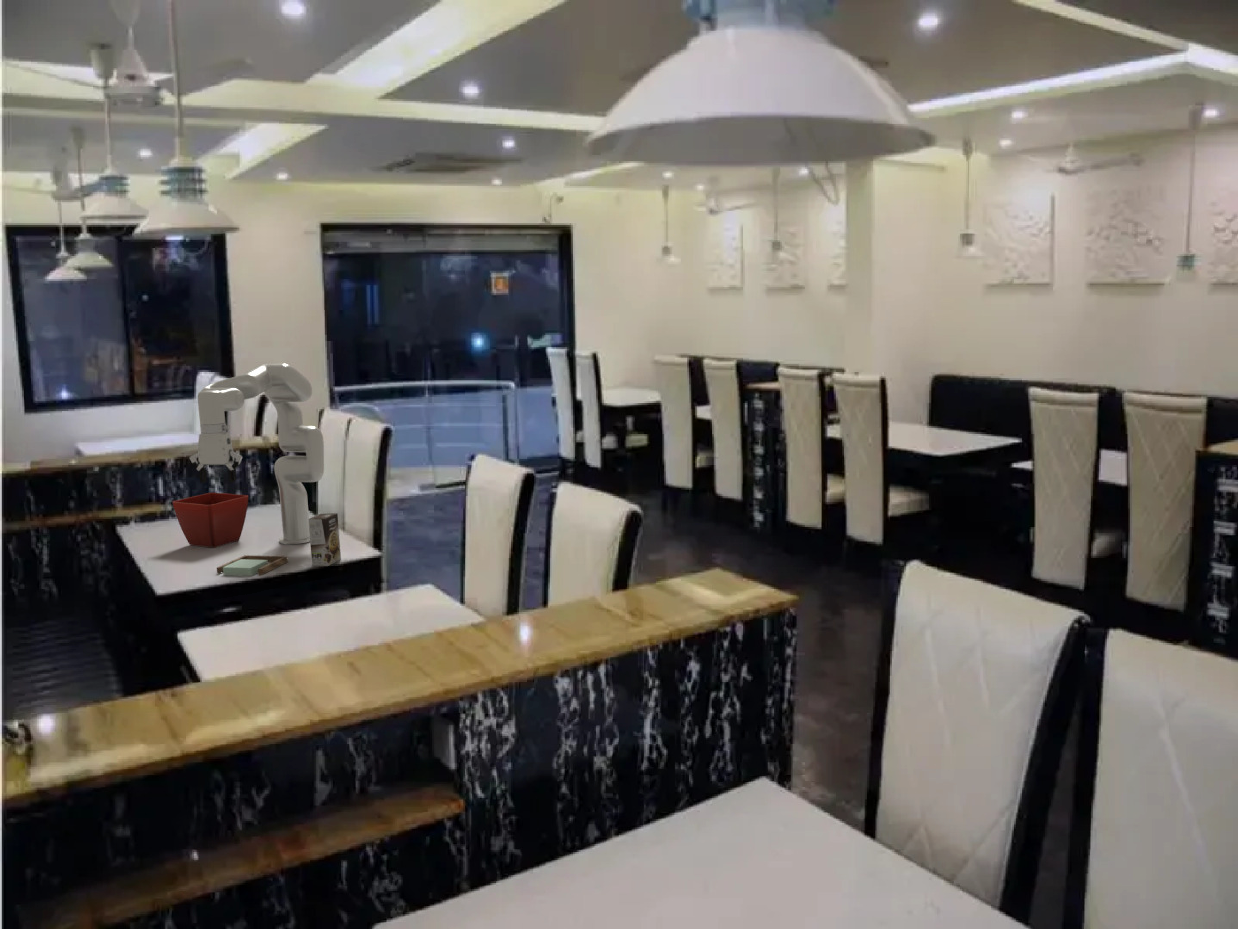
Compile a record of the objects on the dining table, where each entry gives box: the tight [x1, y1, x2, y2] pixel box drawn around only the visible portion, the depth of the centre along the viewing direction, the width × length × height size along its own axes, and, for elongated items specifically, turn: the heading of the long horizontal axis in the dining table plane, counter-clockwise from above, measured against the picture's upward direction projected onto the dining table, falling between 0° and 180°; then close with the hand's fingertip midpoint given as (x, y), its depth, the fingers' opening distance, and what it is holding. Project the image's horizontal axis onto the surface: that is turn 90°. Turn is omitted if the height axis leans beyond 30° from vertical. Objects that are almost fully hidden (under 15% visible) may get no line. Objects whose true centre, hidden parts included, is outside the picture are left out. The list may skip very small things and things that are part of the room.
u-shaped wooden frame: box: [216, 554, 288, 576], centre depth 333 cm, size 16×16×2 cm
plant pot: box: [172, 492, 249, 548], centre depth 369 cm, size 19×19×17 cm
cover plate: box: [222, 559, 269, 576], centre depth 329 cm, size 10×10×3 cm
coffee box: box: [309, 512, 342, 567], centre depth 336 cm, size 9×6×16 cm
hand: (218, 482), depth 322 cm, fingers open, 9 cm apart
